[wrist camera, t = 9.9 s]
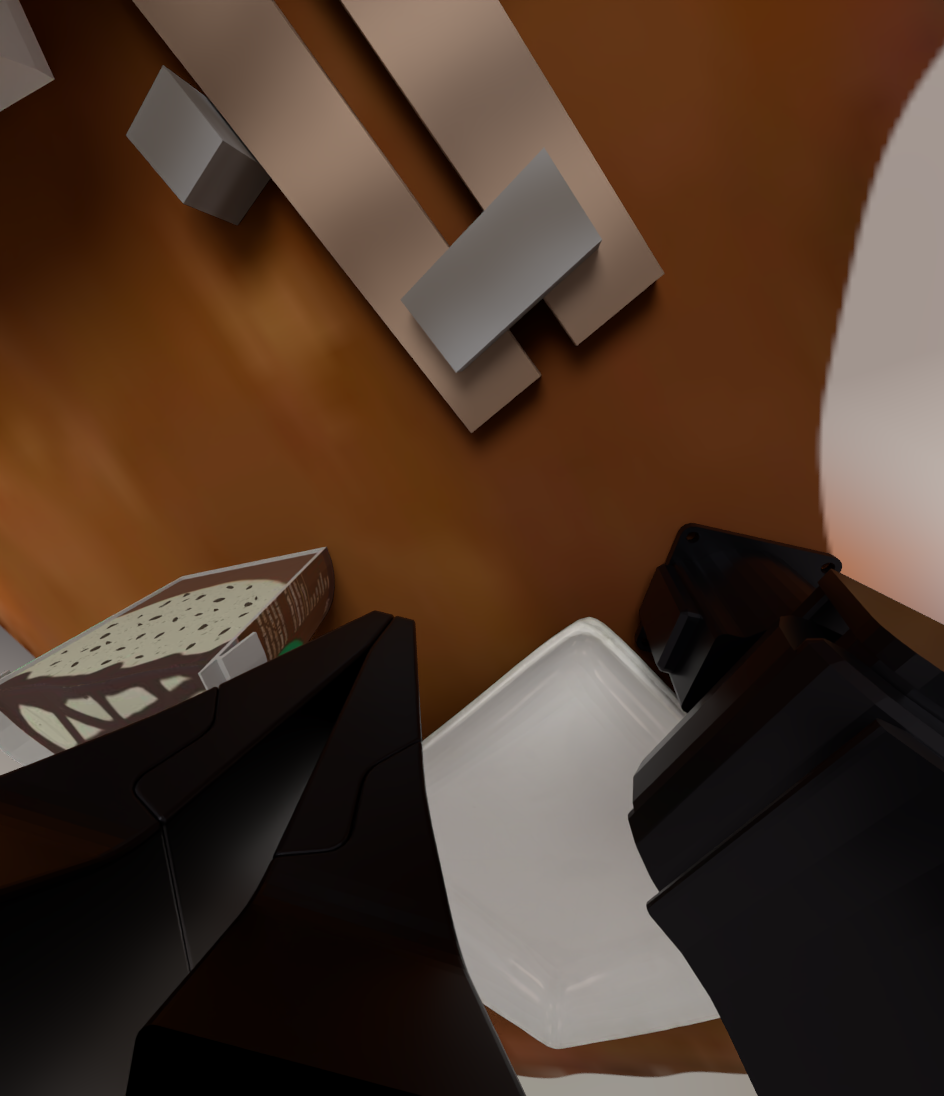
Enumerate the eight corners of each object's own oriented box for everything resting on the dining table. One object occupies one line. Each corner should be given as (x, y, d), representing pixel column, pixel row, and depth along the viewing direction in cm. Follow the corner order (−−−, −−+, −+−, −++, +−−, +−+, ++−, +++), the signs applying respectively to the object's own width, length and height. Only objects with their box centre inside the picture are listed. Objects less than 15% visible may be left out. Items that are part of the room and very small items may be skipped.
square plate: (902, 886, 26) (958, 970, 22) (551, 991, 37) (551, 1059, 33) (585, 577, 21) (592, 621, 18) (293, 802, 32) (261, 857, 29)
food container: (211, 667, 27) (43, 822, 18) (161, 580, 25) (-58, 707, 16) (392, 642, 24) (297, 815, 15) (352, 541, 22) (213, 671, 13)
